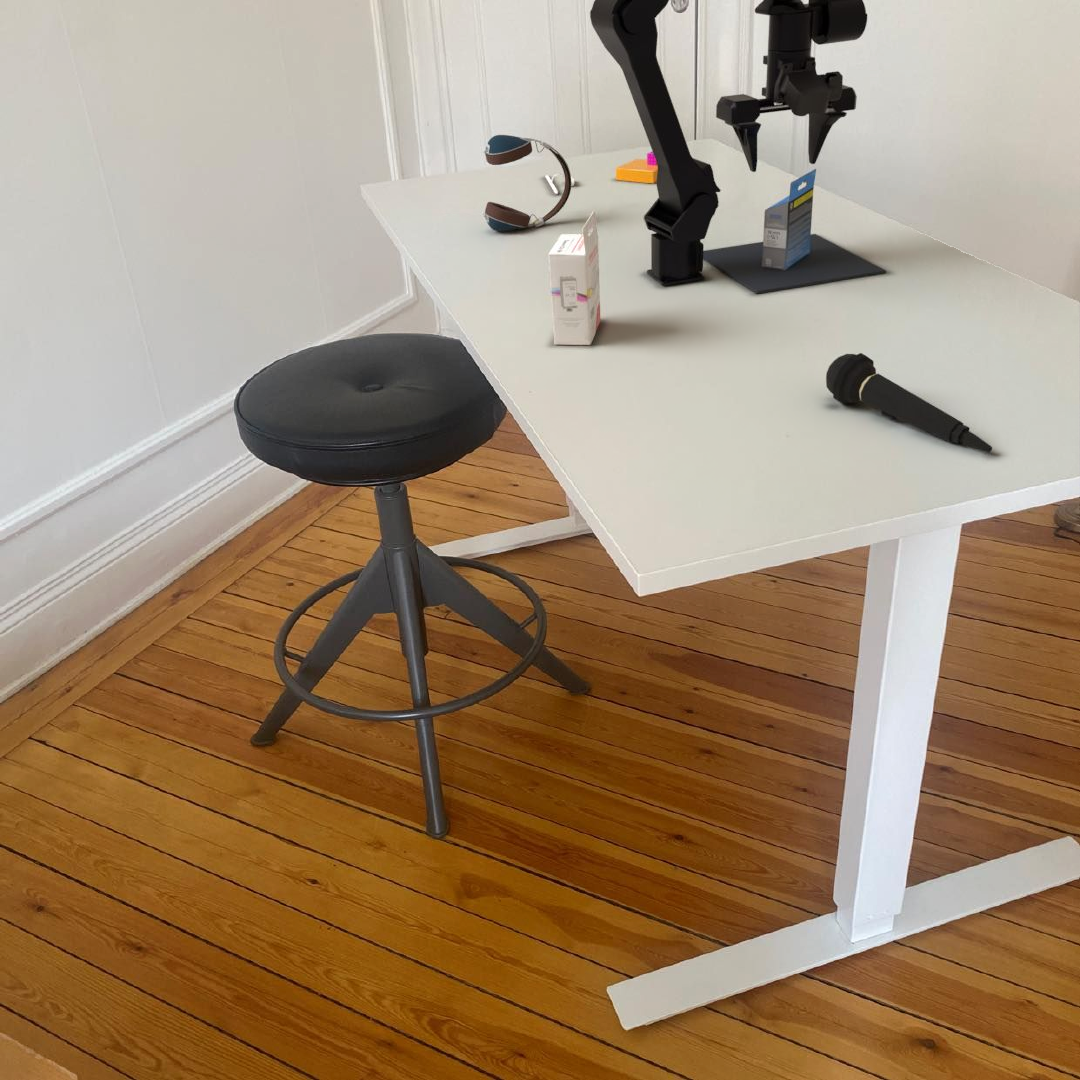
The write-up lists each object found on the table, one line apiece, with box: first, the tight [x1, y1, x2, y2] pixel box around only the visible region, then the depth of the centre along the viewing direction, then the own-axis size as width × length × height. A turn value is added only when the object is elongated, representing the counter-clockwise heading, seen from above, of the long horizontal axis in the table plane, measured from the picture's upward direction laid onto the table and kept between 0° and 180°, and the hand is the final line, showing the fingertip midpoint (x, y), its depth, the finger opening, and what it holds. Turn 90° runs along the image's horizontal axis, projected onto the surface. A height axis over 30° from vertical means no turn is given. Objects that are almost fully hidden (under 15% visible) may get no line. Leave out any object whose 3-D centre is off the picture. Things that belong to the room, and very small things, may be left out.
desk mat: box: [703, 233, 887, 295], centre depth 162 cm, size 20×20×1 cm
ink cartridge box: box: [547, 210, 601, 346], centre depth 139 cm, size 9×5×15 cm, turn 168°
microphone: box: [825, 352, 993, 453], centre depth 115 cm, size 6×6×20 cm
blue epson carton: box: [762, 168, 817, 270], centre depth 159 cm, size 9×4×12 cm, turn 146°
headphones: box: [483, 134, 572, 232], centre depth 181 cm, size 6×15×22 cm
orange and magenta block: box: [615, 150, 658, 185], centre depth 209 cm, size 8×8×4 cm
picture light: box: [545, 173, 575, 195], centre depth 208 cm, size 14×4×2 cm, turn 8°
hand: (782, 167), depth 158 cm, fingers open, 9 cm apart
